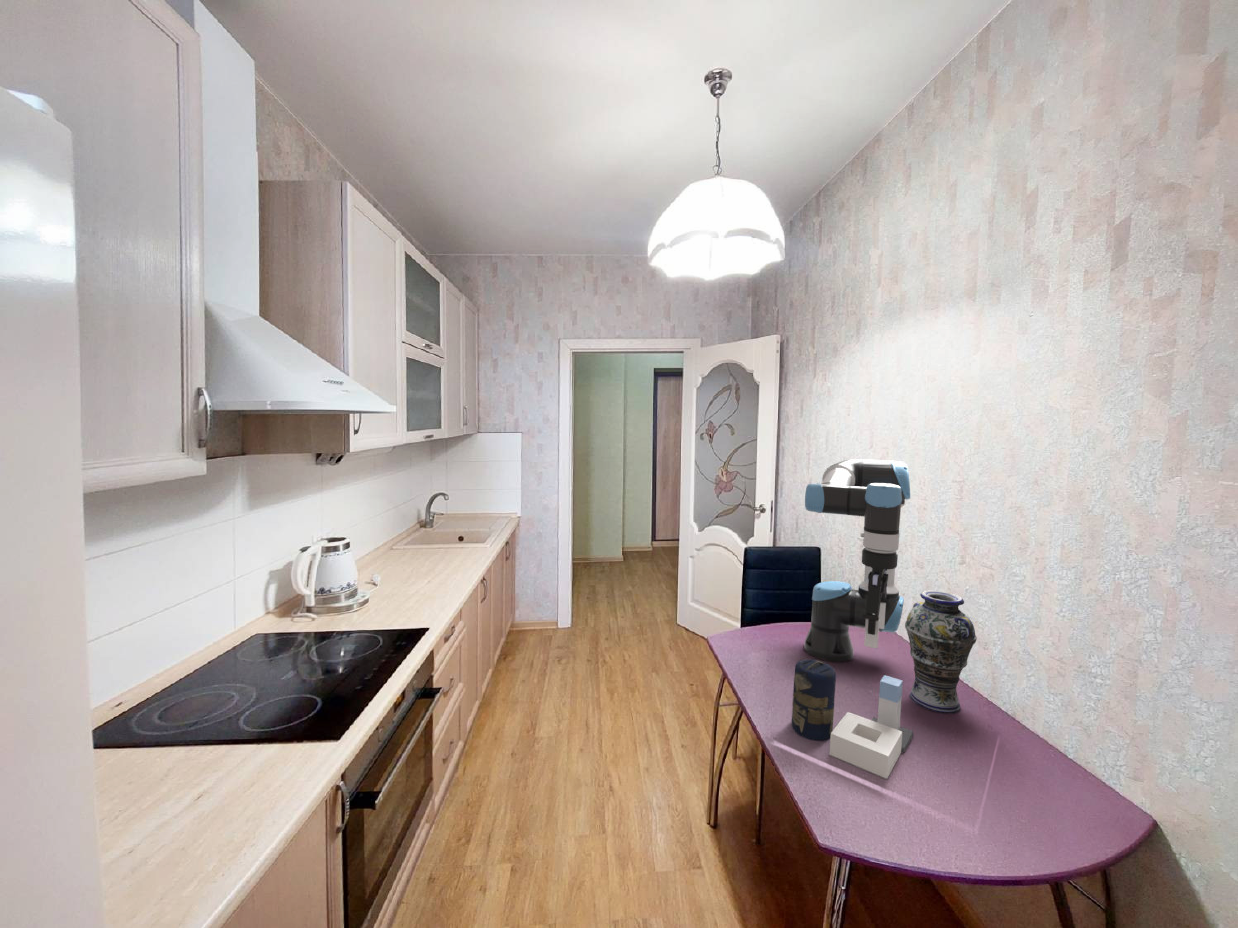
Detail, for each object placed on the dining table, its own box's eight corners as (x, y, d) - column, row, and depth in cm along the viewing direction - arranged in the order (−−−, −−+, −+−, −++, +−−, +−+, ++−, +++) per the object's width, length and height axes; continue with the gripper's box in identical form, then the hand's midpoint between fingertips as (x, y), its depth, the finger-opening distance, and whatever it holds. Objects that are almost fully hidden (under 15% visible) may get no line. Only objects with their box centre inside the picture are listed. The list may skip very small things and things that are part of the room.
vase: (943, 724, 134) (951, 610, 131) (885, 691, 149) (892, 589, 147) (986, 712, 140) (995, 602, 137) (927, 682, 156) (934, 583, 153)
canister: (783, 725, 132) (786, 656, 130) (814, 718, 135) (817, 651, 134) (808, 747, 123) (812, 673, 121) (841, 740, 126) (845, 668, 125)
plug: (881, 729, 129) (884, 674, 128) (899, 736, 127) (902, 680, 126) (876, 736, 126) (880, 680, 125) (894, 743, 124) (898, 686, 123)
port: (846, 735, 128) (847, 711, 128) (900, 756, 120) (902, 731, 120) (829, 758, 119) (830, 733, 119) (886, 782, 111) (888, 756, 111)
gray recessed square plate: (873, 724, 133) (873, 716, 133) (912, 738, 127) (913, 731, 127) (862, 740, 126) (862, 732, 126) (903, 756, 120) (904, 748, 120)
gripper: (869, 537, 136) (864, 617, 138) (854, 557, 115) (849, 651, 117) (902, 541, 132) (896, 623, 134) (892, 563, 111) (886, 660, 113)
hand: (874, 636), depth 125 cm, fingers open, 13 cm apart
